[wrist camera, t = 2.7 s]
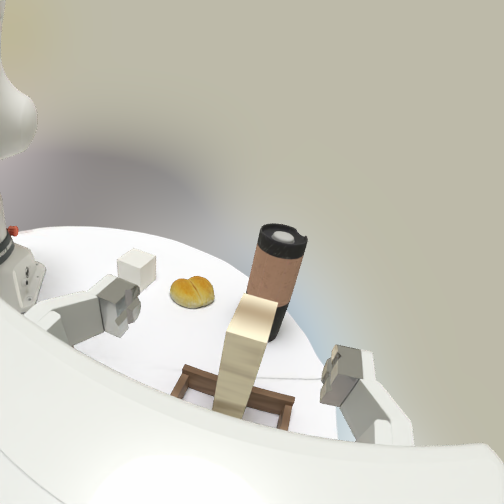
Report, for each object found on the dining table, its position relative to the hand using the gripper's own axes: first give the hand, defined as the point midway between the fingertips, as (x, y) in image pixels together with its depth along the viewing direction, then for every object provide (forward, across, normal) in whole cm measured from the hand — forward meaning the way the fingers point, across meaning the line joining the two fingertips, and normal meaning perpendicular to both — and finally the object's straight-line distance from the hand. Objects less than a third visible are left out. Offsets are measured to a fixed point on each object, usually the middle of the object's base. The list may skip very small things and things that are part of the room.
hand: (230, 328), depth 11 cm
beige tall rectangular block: (+12, 0, +29) cm, 31 cm away
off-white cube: (+36, +28, +29) cm, 54 cm away
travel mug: (+33, 0, +29) cm, 44 cm away
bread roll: (+37, +15, +29) cm, 50 cm away
